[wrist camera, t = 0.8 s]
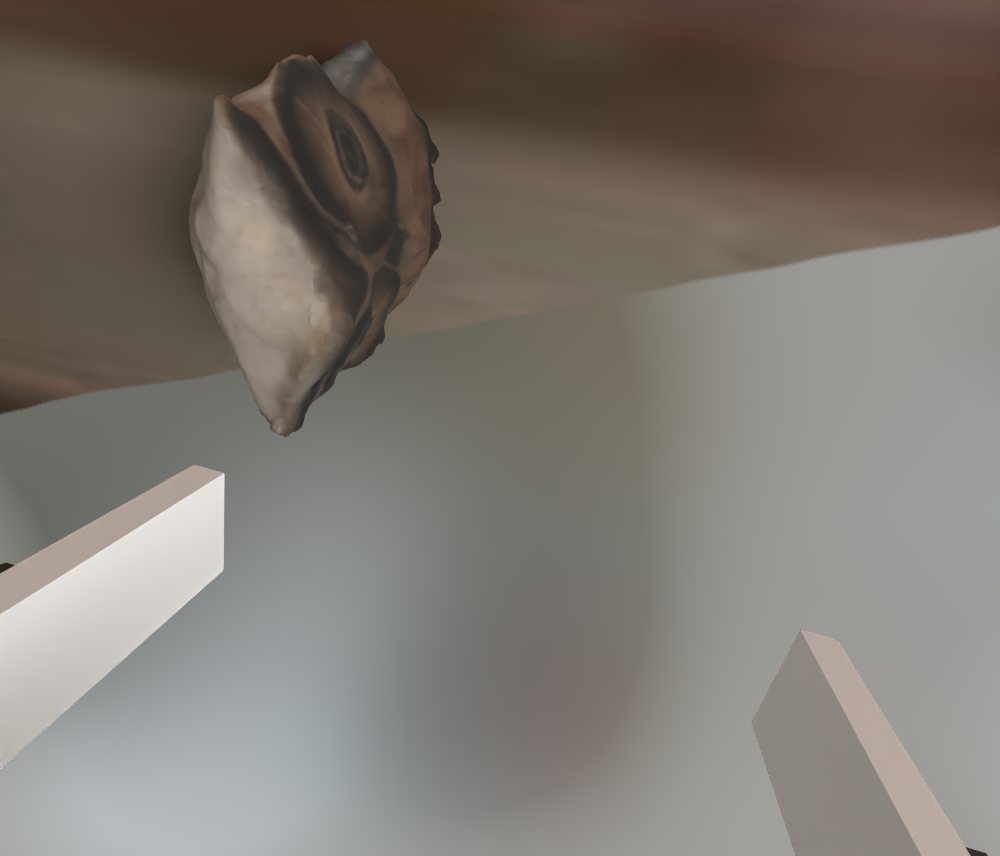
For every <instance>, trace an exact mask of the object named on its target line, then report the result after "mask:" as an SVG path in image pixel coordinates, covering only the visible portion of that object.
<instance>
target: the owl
mask: <svg viewBox="0 0 1000 856" xmlns="http://www.w3.org/2000/svg"><path fill="white" fill-rule="evenodd" d="M438 156H439V152H438V150H437V147H436V146H435V145H434V143H433V142H432V140H431V138H430V135H429V132H428V127H427V126H426V124H425V122H424V121H423V120H422V119H421V118H420V117H419V116H418V115H417V114H416V113H415V112H414V111H413V110H412V109H411V108H410V106H409V102H408V101H407V99H406V97H405V95H404V94H403V92H402V90H401V89H400V87H399V85H398V83H397V81H396V79H395V77H394V75H393V74H392V72H391V71H390V70H389V69H388V68H387V67H386V66H385V65H384V64H383V63H382V62H381V61H380V60H379V59H378V57H377V56H376V54H375V53H374V51H373V50H372V49H371V47H370V46H369V44H368V42H367V40H365V41H359V42H357V43H354V44H351V45H348V46H347V47H345V48H344V49H342V50H341V51H340V52H339V53H338V54H337V55H336V56H335V57H333V58H332V59H331V60H327V61H326V62H324V63H323V64H322V65H320V64H319V63H318V62H317V61H316V60H315V59H314V58H313V56H312V55H310V56H307V58H306V57H304V56H302V55H296V54H293V55H291V56H289V57H287V58H285V59H282V60H281V62H278V63H277V64H276V65H275V66H274V68H273V69H272V71H271V72H270V74H269V75H268V77H267V78H266V80H265V81H263V82H262V83H261V84H259V85H257V86H255V87H253V88H251V89H249V90H247V91H245V92H242V93H240V94H238V95H236V96H234V97H233V98H232V99H231V100H230V99H229V98H228V97H227V96H226V95H222V94H219V95H217V96H216V97H215V99H214V102H213V115H212V120H211V124H210V128H209V130H208V132H207V134H206V139H205V143H204V148H203V153H202V161H203V164H202V166H201V169H200V172H199V176H198V179H197V183H196V187H195V190H194V192H193V195H192V198H191V202H190V208H189V227H190V240H191V244H192V249H193V251H194V254H195V256H196V259H197V263H198V265H199V268H200V271H201V274H202V277H203V281H204V290H205V294H206V296H207V299H208V302H209V305H210V307H211V310H212V311H213V313H214V315H215V317H216V319H217V321H218V323H219V325H220V327H221V329H222V330H223V332H224V333H225V335H226V337H227V339H228V341H229V343H230V345H231V347H232V350H233V352H234V354H235V356H236V359H237V362H238V365H239V367H240V369H241V371H242V373H243V376H244V378H245V380H246V382H247V384H248V387H249V389H250V391H251V392H252V394H253V397H254V400H255V402H256V404H257V406H258V407H259V410H260V412H261V414H262V415H263V416H264V417H265V418H266V419H267V421H268V422H269V423H270V428H271V430H272V431H273V432H275V433H278V434H280V435H282V436H284V437H287V436H289V434H291V433H292V432H295V431H297V430H299V429H300V428H301V427H302V425H303V422H304V417H305V414H306V412H307V410H308V408H309V405H310V404H312V403H313V402H314V401H315V400H316V399H317V398H319V397H320V396H322V395H323V394H324V393H325V392H327V391H328V390H329V389H330V388H331V387H332V386H333V384H334V381H335V378H336V376H337V374H338V373H339V372H340V371H342V370H345V369H348V368H352V367H356V366H358V365H359V364H361V363H362V362H363V361H365V360H366V359H367V358H368V357H370V356H371V355H372V354H373V353H374V350H375V348H376V346H378V345H379V344H382V343H383V341H384V338H385V332H384V324H385V321H386V318H387V315H388V314H389V313H390V312H391V311H393V310H394V309H395V308H396V307H397V306H398V305H399V304H400V303H401V302H402V301H403V300H404V299H405V298H406V297H407V296H408V294H409V292H410V290H411V288H412V287H413V285H414V284H415V283H416V281H417V280H418V278H419V276H420V274H421V272H422V270H423V268H424V267H425V265H426V264H427V263H428V260H429V259H430V257H431V255H432V254H433V253H434V251H435V250H436V249H438V246H439V241H440V239H441V232H440V230H439V227H438V225H437V223H436V221H435V217H434V213H433V206H434V205H436V204H437V203H438V202H440V201H441V199H440V193H439V191H438V189H437V187H436V185H435V182H434V173H433V167H432V165H431V163H435V162H436V160H437V158H438Z"/></svg>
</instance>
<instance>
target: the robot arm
mask: <svg viewBox="0 0 1000 856" xmlns="http://www.w3.org/2000/svg"><path fill="white" fill-rule="evenodd" d="M223 568H224V473H222V472H218V471H215V470H211V469H207V468H204V467H200V466H196V465H193V466H191V467H189V468H188V469H186V470H184V471H182V472H180V473H179V474H177V475H175V476H173V477H172V478H170V479H168V480H166V481H165V482H163V483H161V484H159V485H157V486H156V487H154V488H152V489H150V490H148V491H147V492H145V493H143V494H141V495H140V496H138V497H136V498H134V499H132V500H131V501H129V502H127V503H125V504H123V505H122V506H120V507H118V508H117V509H114V510H113V511H111V512H109V513H107V514H106V515H104V516H102V517H100V518H98V519H97V520H95V521H93V522H92V523H90V524H88V525H86V526H84V527H82V528H81V529H79V530H77V531H75V532H74V533H72V534H70V535H68V536H66V537H65V538H63V539H61V540H59V541H57V542H56V543H54V544H52V545H50V546H49V547H47V548H45V549H43V550H42V551H40V552H38V553H36V554H34V555H33V556H31V557H29V558H27V559H25V560H24V561H22V562H20V563H18V564H17V565H12V564H9V563H4V564H1V565H0V769H1V768H2V767H3V766H4V765H6V764H7V763H8V762H9V761H10V760H11V759H12V758H13V757H14V756H16V755H17V754H18V753H19V752H20V751H21V750H22V749H23V748H25V747H26V746H27V745H28V744H29V743H30V742H31V741H32V740H34V739H35V738H36V737H37V736H38V735H39V734H40V733H41V732H43V731H44V730H45V729H46V728H47V727H48V726H49V725H50V724H52V723H53V722H54V721H55V720H56V719H57V718H58V717H59V716H60V715H62V714H63V713H64V712H65V711H66V710H67V709H68V708H69V707H71V706H72V705H73V704H74V703H75V702H76V701H77V700H78V699H80V698H81V697H82V696H83V695H84V694H85V693H86V692H87V691H88V690H90V688H92V687H93V686H94V685H95V684H96V683H97V682H99V681H100V680H101V679H102V678H103V677H104V676H105V675H106V674H108V673H109V672H110V671H111V670H112V669H113V668H114V667H115V666H117V665H118V664H119V663H120V662H121V661H122V660H123V659H124V658H126V657H127V656H128V655H129V654H130V653H131V652H132V651H133V650H134V649H136V648H137V647H138V646H139V645H140V644H141V643H142V642H143V641H145V640H146V639H147V638H148V637H149V636H150V635H151V634H152V633H154V632H155V631H156V630H157V629H158V628H159V627H160V626H161V625H163V624H164V623H165V622H166V621H167V620H168V619H169V618H170V617H171V616H173V615H174V614H175V613H176V612H177V611H178V610H179V609H180V608H181V607H183V606H184V605H185V604H186V603H187V602H188V601H189V600H191V599H192V598H193V597H194V596H195V595H196V594H197V593H198V592H199V591H201V590H202V589H203V588H204V587H205V586H206V585H207V584H208V583H209V582H211V581H212V580H213V579H214V578H215V577H216V576H217V575H219V574H220V573H221V572H222V571H223V570H224V569H223ZM752 726H753V729H754V732H755V735H756V738H757V741H758V744H759V747H760V749H761V753H762V756H763V759H764V762H765V765H766V768H767V771H768V774H769V777H770V780H771V783H772V786H773V789H774V792H775V795H776V798H777V801H778V804H779V807H780V810H781V813H782V816H783V819H784V822H785V825H786V828H787V831H788V834H789V837H790V840H791V843H792V846H793V849H794V852H795V855H796V856H988V855H987V854H986V853H983V852H980V851H976V850H973V849H970V848H967V847H965V846H964V844H963V843H962V841H961V839H960V838H959V836H958V835H957V833H956V831H955V830H954V828H953V827H952V825H951V823H950V822H949V820H948V818H947V817H946V815H945V814H944V812H943V810H942V809H941V807H940V805H939V804H938V802H937V801H936V799H935V797H934V796H933V794H932V792H931V791H930V789H929V787H928V786H927V784H926V783H925V781H924V779H923V778H922V776H921V775H920V773H919V771H918V770H917V768H916V767H915V765H914V763H913V762H912V760H911V758H910V757H909V755H908V754H907V752H906V750H905V749H904V747H903V745H902V744H901V742H900V740H899V739H898V737H897V736H896V734H895V732H894V731H893V729H892V727H891V726H890V724H889V723H888V721H887V719H886V718H885V716H884V715H883V713H882V711H881V710H880V708H879V706H878V705H877V703H876V702H875V700H874V698H873V697H872V695H871V693H870V692H869V690H868V688H867V687H866V685H865V684H864V682H863V680H862V679H861V677H860V676H859V674H858V672H857V671H856V669H855V668H854V666H853V665H852V663H851V661H850V659H849V658H848V656H847V654H846V653H845V651H844V650H843V648H842V646H841V645H840V643H839V641H838V640H836V639H833V638H829V637H825V636H821V635H818V634H814V633H810V632H807V631H803V630H800V631H799V633H798V635H797V637H796V639H795V641H794V643H793V645H792V646H791V649H790V650H789V652H788V654H787V656H786V658H785V660H784V662H783V664H782V665H781V668H780V669H779V671H778V673H777V675H776V677H775V679H774V681H773V683H772V684H771V686H770V688H769V690H768V692H767V694H766V696H765V698H764V700H763V702H762V703H761V705H760V707H759V709H758V711H757V713H756V715H755V717H754V719H753V721H752Z"/></svg>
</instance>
